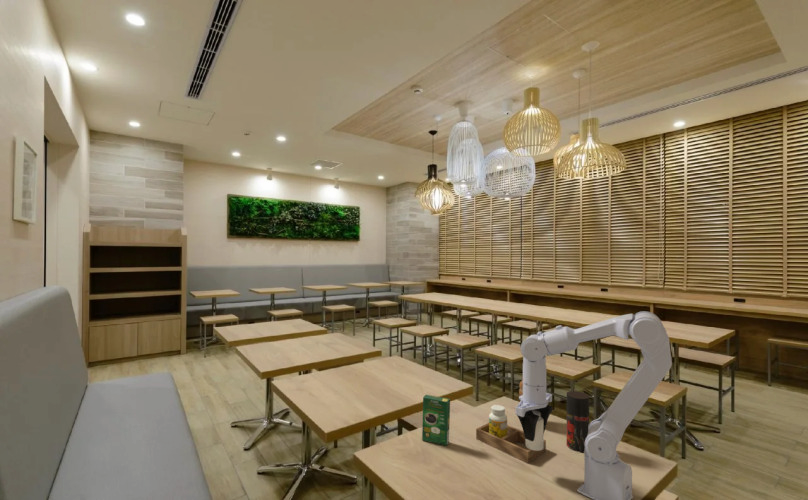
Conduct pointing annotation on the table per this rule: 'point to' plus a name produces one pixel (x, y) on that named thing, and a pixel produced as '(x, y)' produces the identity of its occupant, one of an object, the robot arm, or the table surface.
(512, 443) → the caddy
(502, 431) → the supplement bottle
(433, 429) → the coffee box
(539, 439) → the shaker
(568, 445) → the deodorant
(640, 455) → the table surface
